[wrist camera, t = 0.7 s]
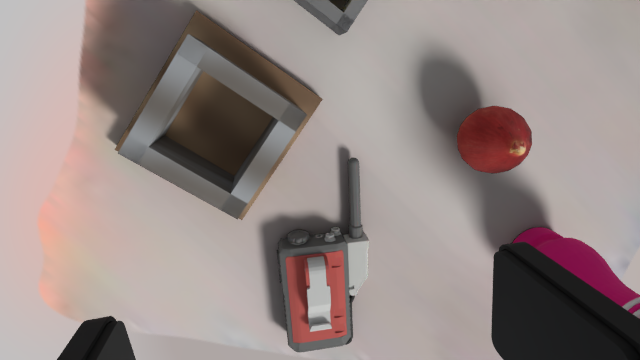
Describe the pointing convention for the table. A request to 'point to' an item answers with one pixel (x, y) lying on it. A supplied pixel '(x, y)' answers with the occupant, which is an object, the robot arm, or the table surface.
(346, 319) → the walkie-talkie
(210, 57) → the socket
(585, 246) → the pepper mill
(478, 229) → the table surface
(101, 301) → the table surface
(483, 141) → the onion
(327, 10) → the frame
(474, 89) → the table surface
